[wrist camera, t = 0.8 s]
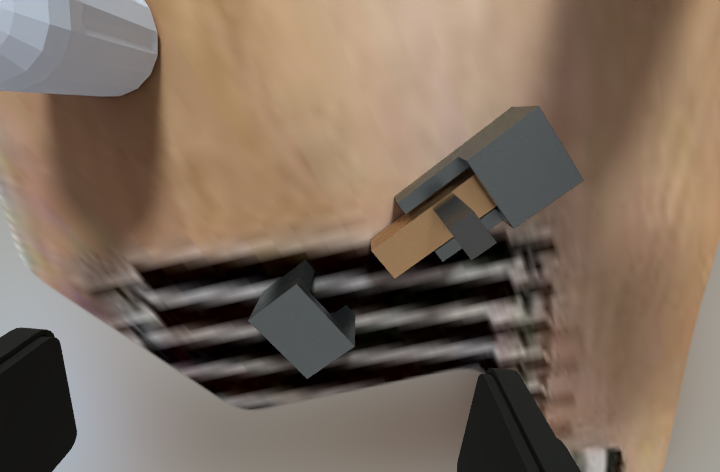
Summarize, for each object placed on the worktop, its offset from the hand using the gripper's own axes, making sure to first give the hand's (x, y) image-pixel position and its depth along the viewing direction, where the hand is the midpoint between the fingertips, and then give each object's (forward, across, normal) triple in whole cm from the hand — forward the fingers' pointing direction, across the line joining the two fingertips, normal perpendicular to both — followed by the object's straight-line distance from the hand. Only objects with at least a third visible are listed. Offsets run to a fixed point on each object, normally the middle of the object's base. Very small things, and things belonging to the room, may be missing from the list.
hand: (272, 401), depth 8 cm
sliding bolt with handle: (+25, -10, 0) cm, 27 cm away
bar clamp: (+26, -6, +4) cm, 27 cm away
